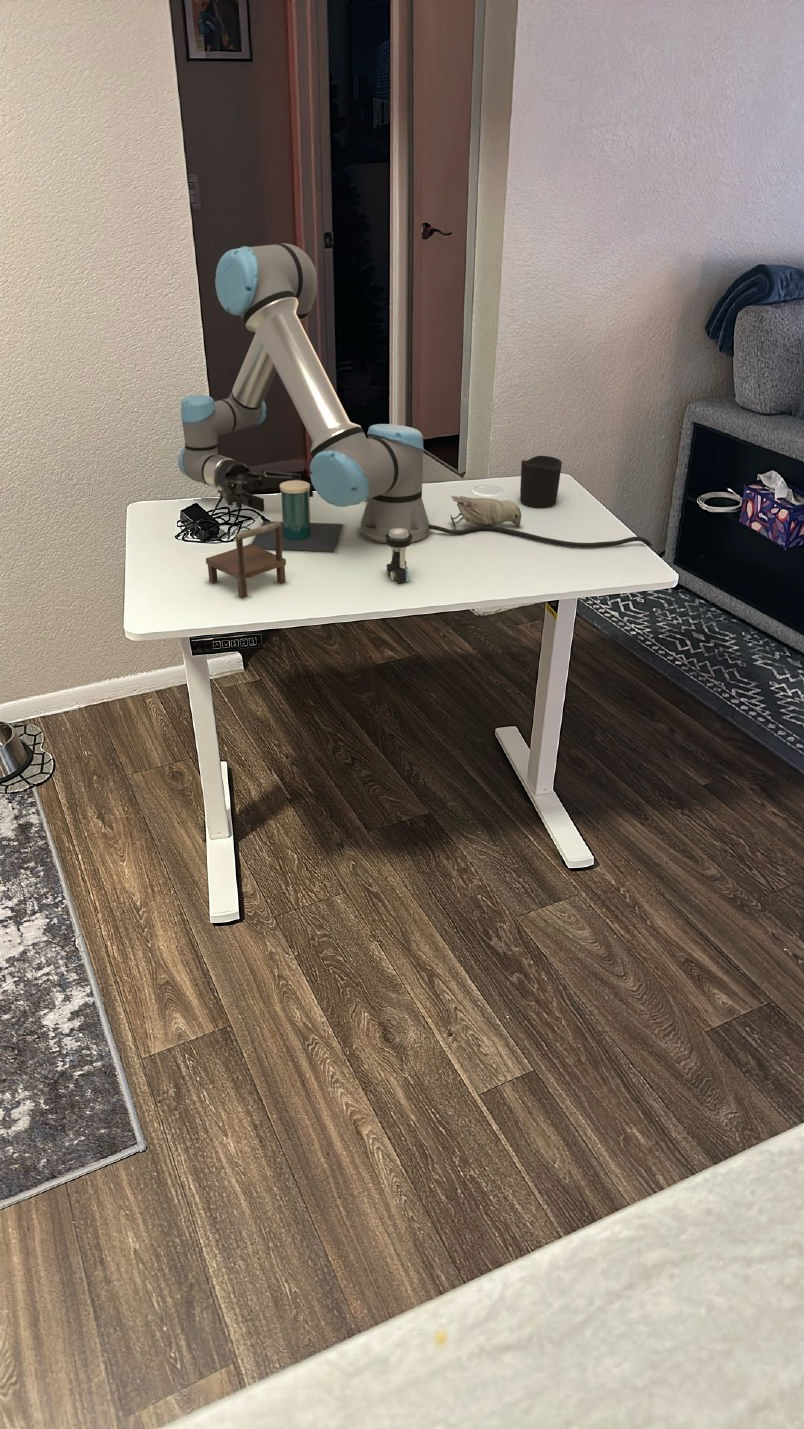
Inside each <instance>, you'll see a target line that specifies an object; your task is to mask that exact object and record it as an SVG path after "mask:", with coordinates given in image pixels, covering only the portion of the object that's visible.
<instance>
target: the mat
mask: <svg viewBox="0 0 804 1429" xmlns="http://www.w3.org/2000/svg"><path fill="white" fill-rule="evenodd" d="M274 522H275V521H271V520H270V521H268V520H263V521H262V523H261V525H260V527H261V526H264V525H267V524H271V523H274ZM279 522H280V523H281V544H282V552H284V551H285V552H288V551H289V552H312V553H313V552H314V553H335V551H336V547H337V544H338V541H339V538H340V535H341V532H342V529H343V525H344V524H343V523H330V522H329V523H327V522H310V524H311V536H310V537H309V538H307V539H303V540H290V539H286V538H285V537H284V536H283V521H279ZM251 544H252V545H255V546H257V547H259V548H261V549H264V550H266V551H276V549H275V532H274V529H273V530H270V531H267V532H264V533H261V534H257V535H254V538H253V540H252V541H251Z"/></svg>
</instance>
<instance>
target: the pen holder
mask: <svg viewBox="0 0 804 1429" xmlns="http://www.w3.org/2000/svg"><path fill="white" fill-rule="evenodd" d="M520 463H521V464H520V466H521V467H520V468H521V469H520V487H519V488H520V490H519V492H520V493H519V500H520V502H521V504H522V505H524V506H526V507H530V508H534V509H546V508H551V507H554V506H555V505H556V503H557V499H558V493H559V485H560V479H561V473H562V472H561V471H562V466H563V465H562V464H563V462H562V460H560V459H559V458H557V457H554V456H548V455H536V456H533V457H531V458H529V459H527V460H525V459H522V460H521V462H520Z"/></svg>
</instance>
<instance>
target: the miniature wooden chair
mask: <svg viewBox="0 0 804 1429" xmlns="http://www.w3.org/2000/svg"><path fill="white" fill-rule="evenodd" d="M280 522H281V521H279V520H277V521H274V523H271V524H267V525H264V526H261V525H260V526H258V527H254V528H251V529H248V530H245V531H241V532H238V533H237V534H236V533H235V534H234V538H235V544H236V548H233V549H230V550H227V551H223V552H221V553H218V554H216V555H212V556H209V557H205V564H206V565H207V571H208V580H209V581H208V582H209V583H211V584H212V585H214V584H217V583H219V580H218V571H220V572H221V573H224V574H226V575H228V576H229V577H232V578H234V579H236V582H237V594H238V598H241V599H244V598H248V587H247V579H250V578H252V577H255V576H258V575H261V574H264V573H267V572H269V571H272V570H276V584H278V585H283V584H286V582H287V581H286V566H287V560H286V558H284V557H283V551H282V544H281V523H280ZM273 529H274V532H275V549H276V550H275V553H273V552H270V551H269V550H264V549H261V548H259V547H257V546H255V545H252V543H248V544H246V545H244V540H245V539H249V538H251V537H255V536H256V535H257V534H261V533H264V532H267V531H270V530H273Z"/></svg>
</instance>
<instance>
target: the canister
mask: <svg viewBox="0 0 804 1429" xmlns="http://www.w3.org/2000/svg"><path fill="white" fill-rule="evenodd" d="M310 484H311V483H310V482H307V481H305V480H301V481H298V480H293V481H286V482H283V483H281V484H280V488H279V490H280V498H281V500H280V502H281V518H282V522H283V536H284V537H285V538H286V539H290V540H303V539H307V538H309V537H310V536H311V524H310V523H311V501H310V497H309V490H310Z"/></svg>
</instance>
